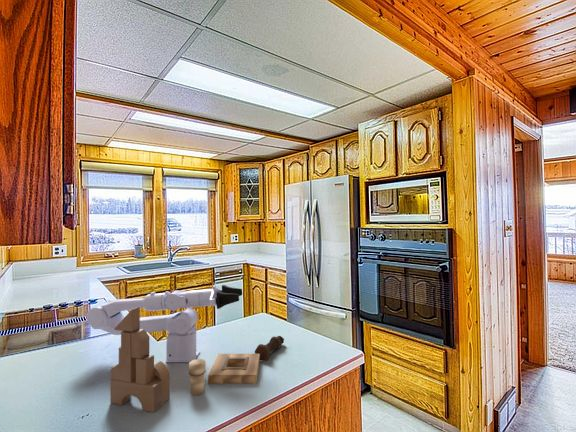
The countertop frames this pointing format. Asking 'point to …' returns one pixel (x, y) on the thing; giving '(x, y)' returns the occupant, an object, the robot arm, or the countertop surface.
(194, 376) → the peg
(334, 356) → the countertop surface
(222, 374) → the board
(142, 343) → the wooden toy
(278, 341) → the bolt
